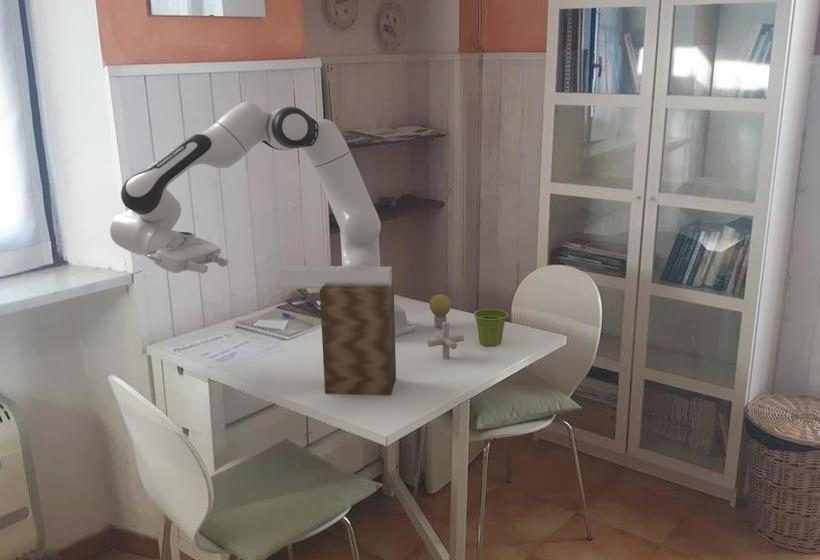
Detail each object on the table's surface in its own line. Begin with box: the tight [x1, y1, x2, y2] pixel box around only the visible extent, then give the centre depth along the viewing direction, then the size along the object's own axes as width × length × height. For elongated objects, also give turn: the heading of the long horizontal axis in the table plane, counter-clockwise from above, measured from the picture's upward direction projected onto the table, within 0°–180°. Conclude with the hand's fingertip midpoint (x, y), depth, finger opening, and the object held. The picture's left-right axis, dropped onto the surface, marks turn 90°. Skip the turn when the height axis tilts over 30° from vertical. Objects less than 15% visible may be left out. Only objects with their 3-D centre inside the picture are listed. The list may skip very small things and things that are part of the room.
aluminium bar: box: [279, 265, 393, 288], centre depth 184 cm, size 26×4×4 cm, turn 84°
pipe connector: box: [427, 321, 465, 360], centre depth 207 cm, size 10×10×10 cm
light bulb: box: [429, 293, 452, 329], centre depth 232 cm, size 6×6×10 cm
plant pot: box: [473, 308, 509, 347], centre depth 218 cm, size 9×9×9 cm
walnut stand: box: [319, 279, 397, 396], centre depth 188 cm, size 16×10×26 cm, turn 84°
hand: (216, 266), depth 191 cm, fingers open, 8 cm apart
